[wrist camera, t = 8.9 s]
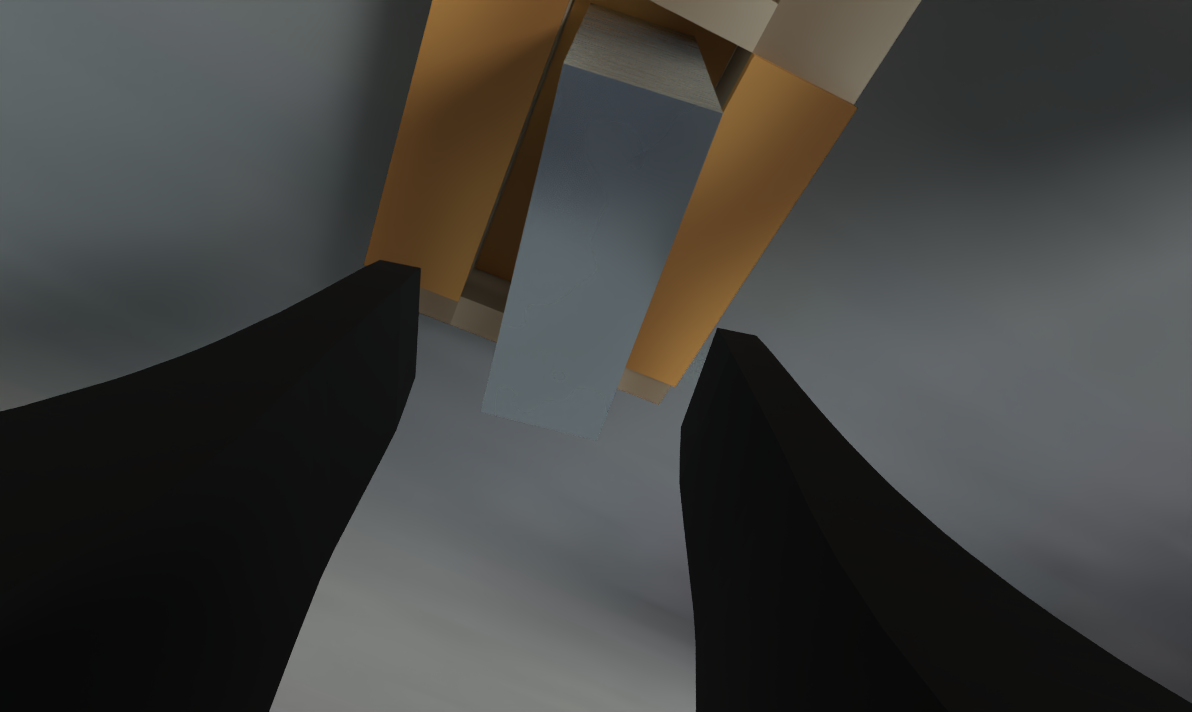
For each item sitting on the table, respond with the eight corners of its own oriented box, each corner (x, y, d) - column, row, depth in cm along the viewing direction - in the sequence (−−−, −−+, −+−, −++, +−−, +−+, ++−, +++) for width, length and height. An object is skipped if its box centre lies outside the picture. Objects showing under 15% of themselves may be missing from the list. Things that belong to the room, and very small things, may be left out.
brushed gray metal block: (694, 36, 15) (723, 113, 10) (609, 289, 19) (596, 440, 14) (590, 2, 15) (563, 63, 10) (525, 266, 19) (480, 412, 14)
